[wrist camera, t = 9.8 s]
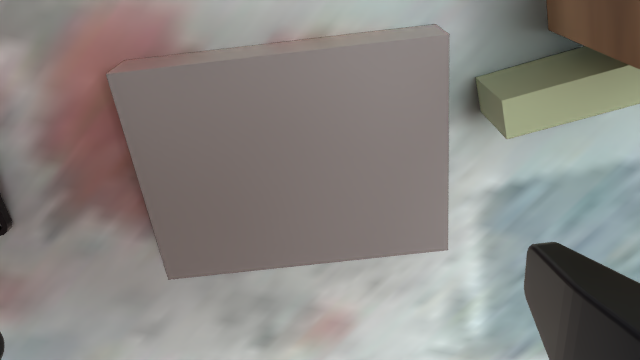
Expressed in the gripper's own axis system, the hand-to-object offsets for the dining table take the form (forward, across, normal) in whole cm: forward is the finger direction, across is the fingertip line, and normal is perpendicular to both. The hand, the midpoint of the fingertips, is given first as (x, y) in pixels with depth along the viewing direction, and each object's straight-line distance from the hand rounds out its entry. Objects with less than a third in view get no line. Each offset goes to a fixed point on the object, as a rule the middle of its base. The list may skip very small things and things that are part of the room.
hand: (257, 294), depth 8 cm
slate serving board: (+13, 0, +3) cm, 13 cm away
